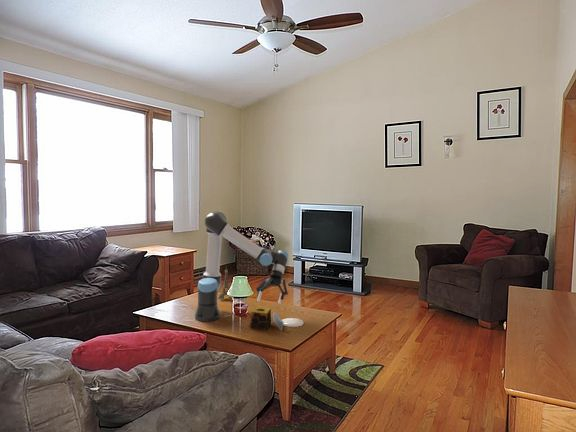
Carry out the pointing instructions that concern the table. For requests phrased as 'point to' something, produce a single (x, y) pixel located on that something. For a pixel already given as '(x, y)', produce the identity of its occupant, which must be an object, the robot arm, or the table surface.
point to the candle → (260, 318)
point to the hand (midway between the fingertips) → (268, 302)
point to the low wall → (278, 321)
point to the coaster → (292, 322)
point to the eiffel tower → (224, 287)
